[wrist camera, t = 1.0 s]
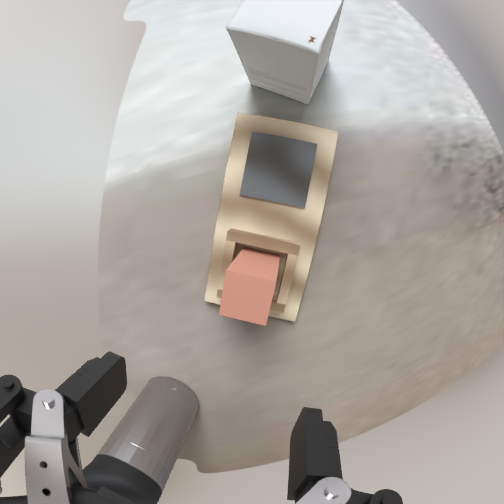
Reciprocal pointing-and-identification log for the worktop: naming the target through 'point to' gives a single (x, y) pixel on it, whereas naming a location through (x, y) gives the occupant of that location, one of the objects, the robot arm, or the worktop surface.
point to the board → (273, 203)
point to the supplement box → (285, 43)
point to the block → (250, 286)
